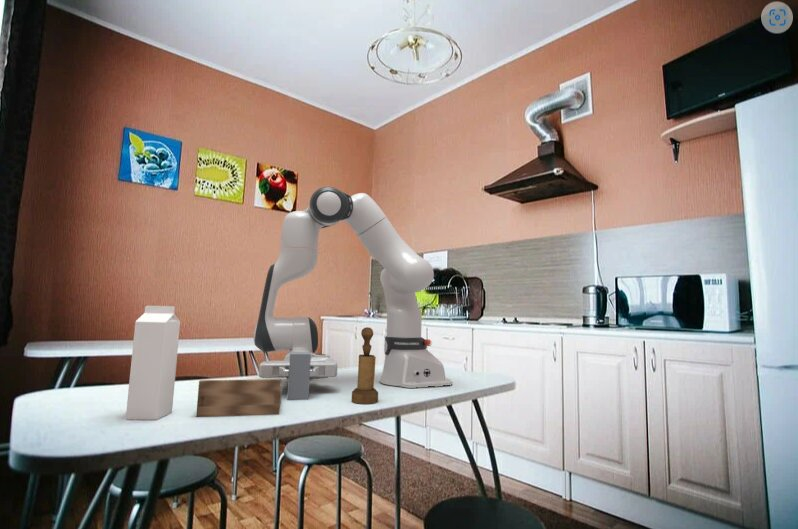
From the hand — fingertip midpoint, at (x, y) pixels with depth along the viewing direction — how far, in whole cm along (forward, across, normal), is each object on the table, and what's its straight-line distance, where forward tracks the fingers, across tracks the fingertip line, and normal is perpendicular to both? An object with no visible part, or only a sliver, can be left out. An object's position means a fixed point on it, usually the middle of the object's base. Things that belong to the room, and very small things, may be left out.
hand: (299, 373), depth 102 cm
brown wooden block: (+7, -12, +6) cm, 15 cm away
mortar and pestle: (+5, +16, +6) cm, 18 cm away
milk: (+13, -29, +6) cm, 32 cm away
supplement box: (-5, +18, +6) cm, 20 cm away
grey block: (-1, 0, +6) cm, 6 cm away
